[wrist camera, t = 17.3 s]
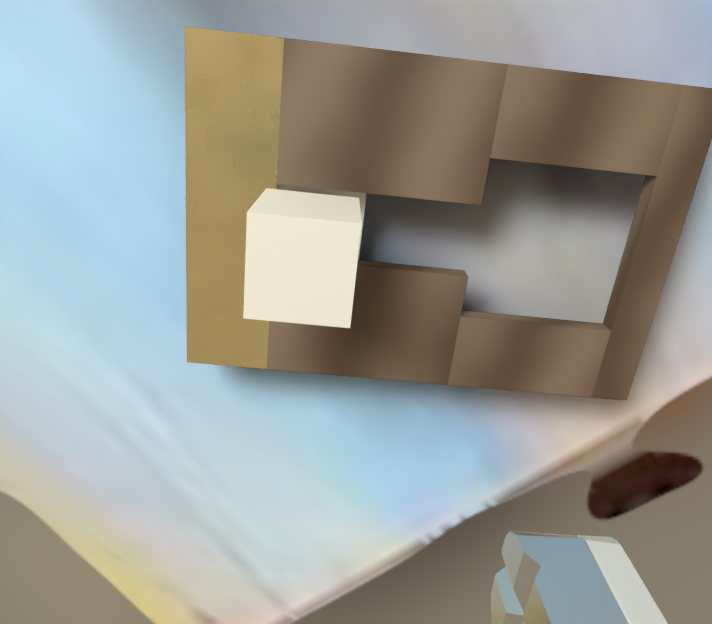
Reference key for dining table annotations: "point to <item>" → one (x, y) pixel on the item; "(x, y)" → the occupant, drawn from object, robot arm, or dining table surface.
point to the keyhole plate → (423, 181)
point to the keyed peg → (303, 255)
